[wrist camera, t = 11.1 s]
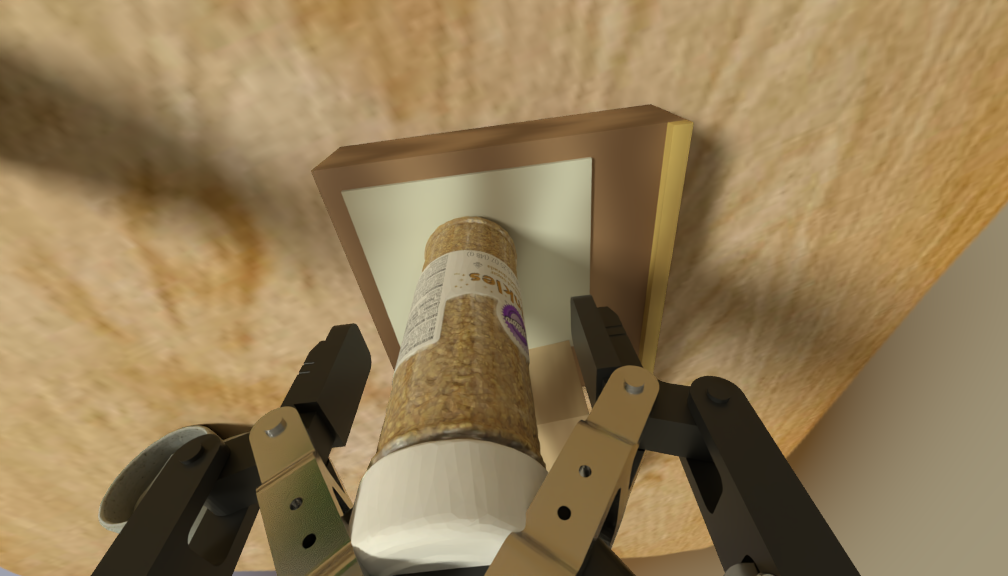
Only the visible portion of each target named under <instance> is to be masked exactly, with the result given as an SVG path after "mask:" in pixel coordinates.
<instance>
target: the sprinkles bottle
mask: <svg viewBox="0 0 1008 576" xmlns="http://www.w3.org/2000/svg"><path fill="white" fill-rule="evenodd" d="M424 259H425V262H424V265H423V269H422V273H421V275H420V277H419V280H418V282H417V286H416V290H415V294H414V298H413V302H412V305H411V309H410V313H409V317H408V321H407V325H406V329H405V333H404V337H403V341H402V345H401V348H400V352H399V356H398V360H397V363H396V367H395V371H394V375H393V381H392V391H391V394H390V398H389V402H388V406H387V409H386V417H385V420H384V424H383V427H382V431H381V434H380V439H379V443H378V447H377V452H376V455H375V456H374V457H373V458H372V459H371V462H370V464H369V466H368V468H367V472H366V473H365V475H364V476H363V478H362V479H361V481H360V484H359V488H358V491H357V495H356V499H355V502H354V506H353V510H352V514H351V517H350V521H349V525H348V528H349V535H350V539H351V543H352V545H353V548H354V550H355V553H356V555H357V557H358V558H359V560H360V562H361V563H362V565H363V566H364V567H365V569H366V570H367V571H368V572H369V574H370V575H371V576H394V575H399V574H408V573H418V572H427V571H436V570H445V569H455V568H465V567H475V566H486V565H491V563H492V561H493V560H494V558H495V556H496V554H497V553H498V551H499V549H500V548H501V546H502V544H503V543H504V541H505V539H506V538H507V537H508V535H509V534H510V533H511V532H520V531H523V530H524V528H525V525H526V511H527V510H528V508H529V506H530V504H531V503H532V501H533V499H534V497H535V496H536V494H537V492H538V490H539V489H540V487H541V485H542V483H543V482H544V480H545V478H546V476H547V475H548V471H547V470H546V464H545V462H544V461H543V457H542V456H541V452H540V441H539V439H538V428H537V425H536V422H537V421H536V417H535V405H534V399H533V392H532V386H531V379H530V373H529V364H530V357H529V350H528V342H527V335H526V328H525V321H524V313H523V305H522V297H521V290H520V286H519V283H518V278H517V270H516V267H517V253H516V249H515V245H514V242H513V240H512V238H511V237H510V236H509V234H508V232H507V231H506V230H504V229H503V228H502V227H501V226H500V225H498V224H496V223H494V222H492V221H490V220H487V219H483V218H481V217H477V216H475V217H469V216H464V217H460V218H455V219H452V220H450V221H447V222H446V223H444V224H442V225H440V226H438V227H437V229H436V230H435V231H434V232H433V233H432V235H431V236H430V237H429V239H428V241H427V243H426V246H425V252H424Z"/></svg>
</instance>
